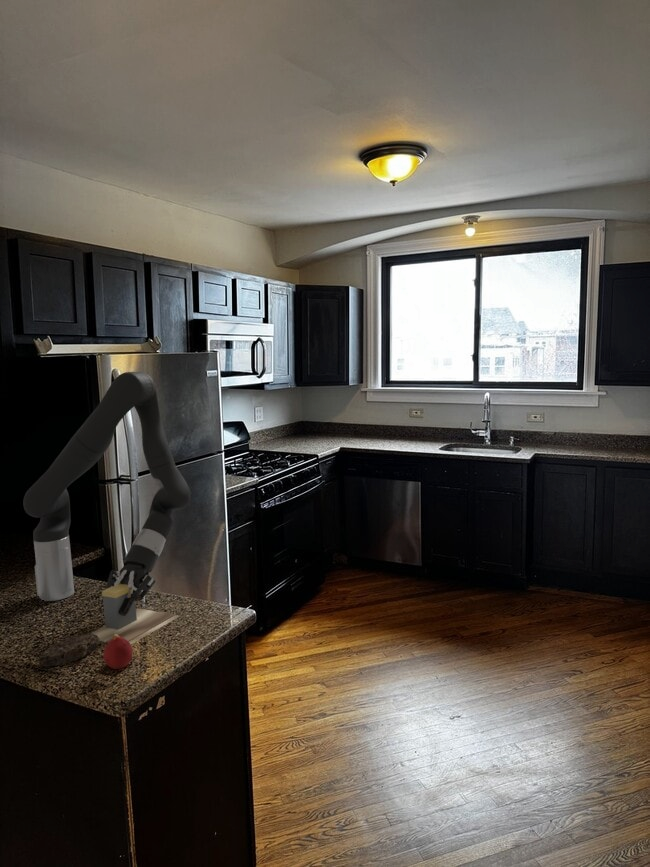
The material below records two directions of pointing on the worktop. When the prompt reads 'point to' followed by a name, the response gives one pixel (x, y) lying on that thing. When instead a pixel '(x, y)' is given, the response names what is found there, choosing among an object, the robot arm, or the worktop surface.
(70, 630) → the worktop surface
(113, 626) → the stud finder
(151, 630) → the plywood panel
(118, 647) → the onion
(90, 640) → the concrete sample
